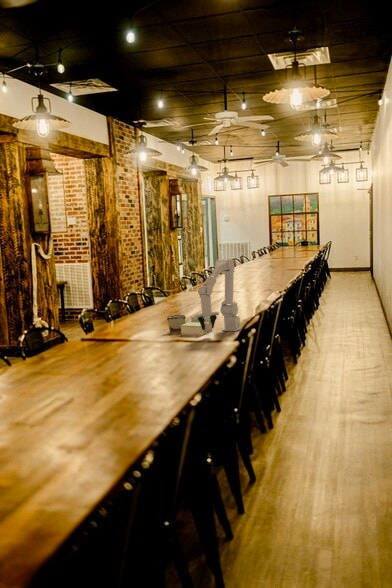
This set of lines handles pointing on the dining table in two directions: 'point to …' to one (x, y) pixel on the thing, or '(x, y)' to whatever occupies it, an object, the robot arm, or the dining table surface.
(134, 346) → the dining table surface
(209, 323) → the cream rounded piece
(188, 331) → the box
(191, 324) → the lid
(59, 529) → the dining table surface
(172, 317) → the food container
